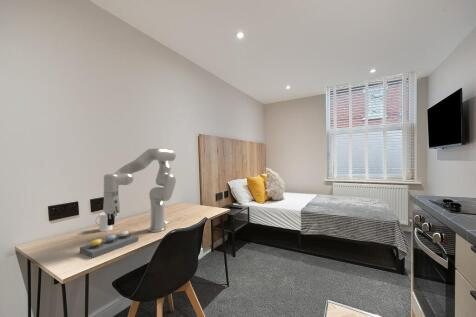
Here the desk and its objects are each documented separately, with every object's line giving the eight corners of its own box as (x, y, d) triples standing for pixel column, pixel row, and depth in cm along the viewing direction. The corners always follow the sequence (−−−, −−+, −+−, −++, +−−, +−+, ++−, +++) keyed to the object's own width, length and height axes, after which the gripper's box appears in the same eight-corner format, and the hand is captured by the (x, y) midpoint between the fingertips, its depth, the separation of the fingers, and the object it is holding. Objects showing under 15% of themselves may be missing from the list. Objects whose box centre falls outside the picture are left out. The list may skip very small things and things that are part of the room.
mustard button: (98, 241, 117) (98, 238, 117) (103, 243, 114) (103, 239, 114) (88, 244, 112) (88, 241, 112) (93, 246, 110) (93, 242, 110)
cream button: (125, 232, 130) (125, 229, 130) (130, 234, 128) (130, 231, 128) (117, 235, 126) (117, 232, 126) (122, 236, 124) (122, 233, 124)
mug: (91, 231, 146) (92, 215, 146) (100, 227, 155) (100, 212, 155) (107, 231, 146) (107, 215, 146) (115, 227, 154) (115, 212, 154)
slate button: (112, 236, 124) (112, 233, 124) (117, 238, 121) (117, 235, 121) (104, 239, 119) (104, 236, 119) (108, 241, 117) (108, 237, 117)
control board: (125, 237, 135) (125, 232, 135) (138, 241, 128) (138, 236, 128) (79, 252, 112) (79, 246, 112) (92, 258, 105) (92, 252, 105)
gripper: (124, 194, 120) (124, 225, 120) (110, 192, 127) (110, 221, 127) (111, 196, 113) (111, 228, 113) (97, 194, 121) (97, 224, 121)
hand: (110, 224), depth 120 cm, fingers closed
